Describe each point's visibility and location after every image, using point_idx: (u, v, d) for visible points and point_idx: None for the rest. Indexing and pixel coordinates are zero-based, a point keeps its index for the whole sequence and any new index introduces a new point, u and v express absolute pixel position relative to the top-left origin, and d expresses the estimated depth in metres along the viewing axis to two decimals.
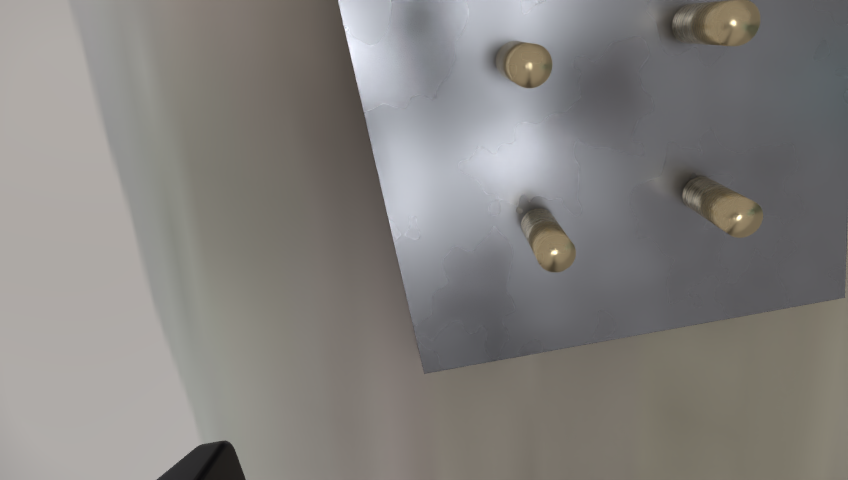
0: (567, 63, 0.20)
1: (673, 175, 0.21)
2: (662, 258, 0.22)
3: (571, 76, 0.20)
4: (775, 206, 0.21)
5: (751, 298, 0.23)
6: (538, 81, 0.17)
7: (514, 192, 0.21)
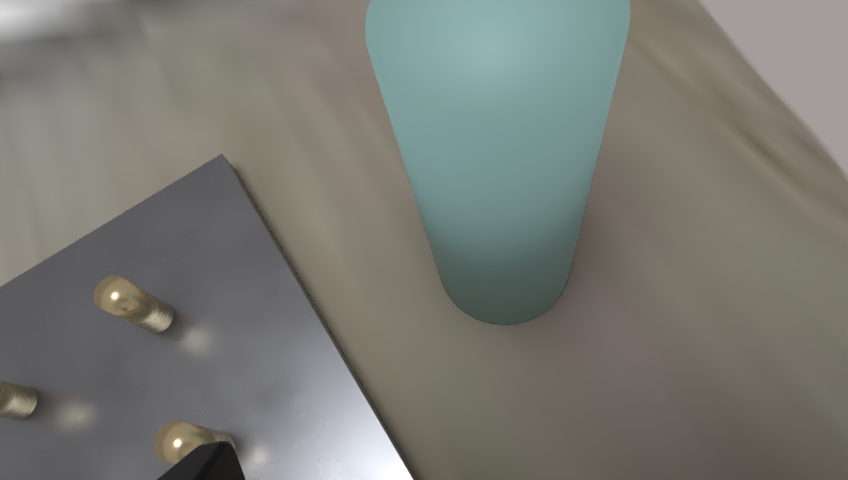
0: (66, 386, 0.22)
1: None
2: None
3: (71, 395, 0.22)
4: (297, 432, 0.21)
5: None
6: None
7: None
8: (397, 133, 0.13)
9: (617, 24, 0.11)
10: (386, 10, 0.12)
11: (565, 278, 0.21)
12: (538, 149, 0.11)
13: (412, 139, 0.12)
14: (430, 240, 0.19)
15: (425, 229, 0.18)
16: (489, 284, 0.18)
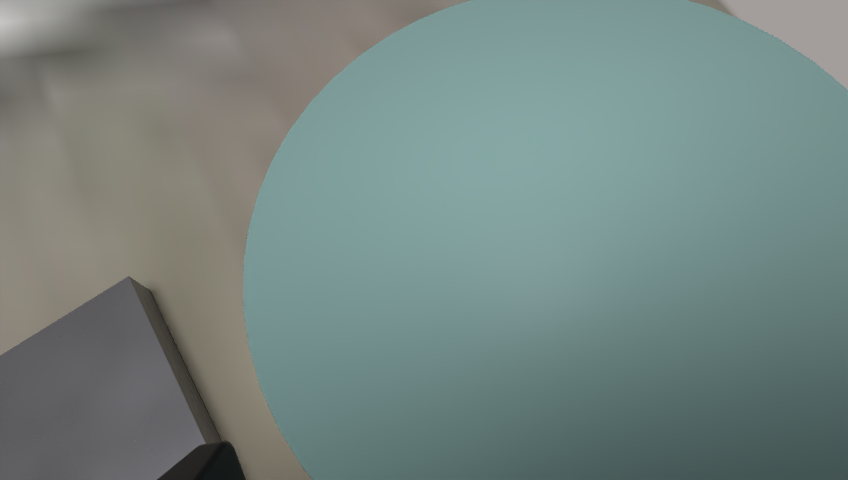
0: None
1: None
2: None
3: None
4: None
5: None
6: None
7: None
8: None
9: None
10: (299, 210, 0.05)
11: None
12: None
13: None
14: None
15: None
16: None
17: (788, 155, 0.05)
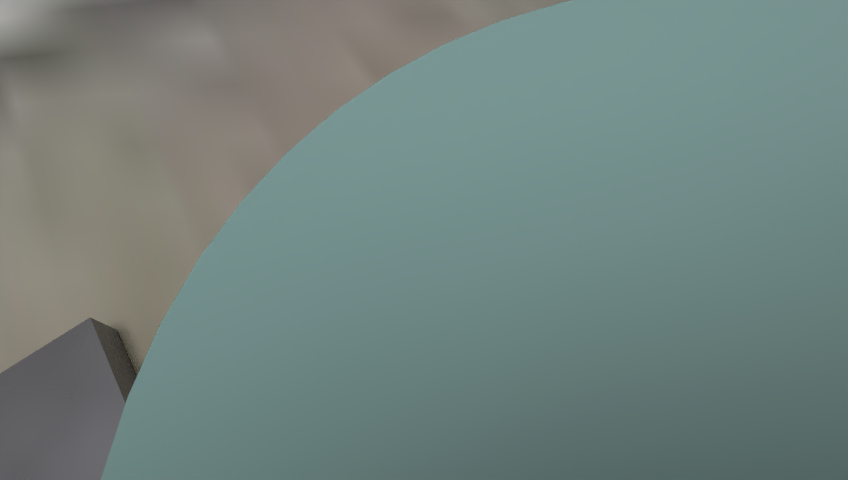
0: None
1: None
2: None
3: None
4: None
5: None
6: None
7: None
8: None
9: None
10: (202, 443, 0.02)
11: None
12: None
13: None
14: None
15: None
16: None
17: None
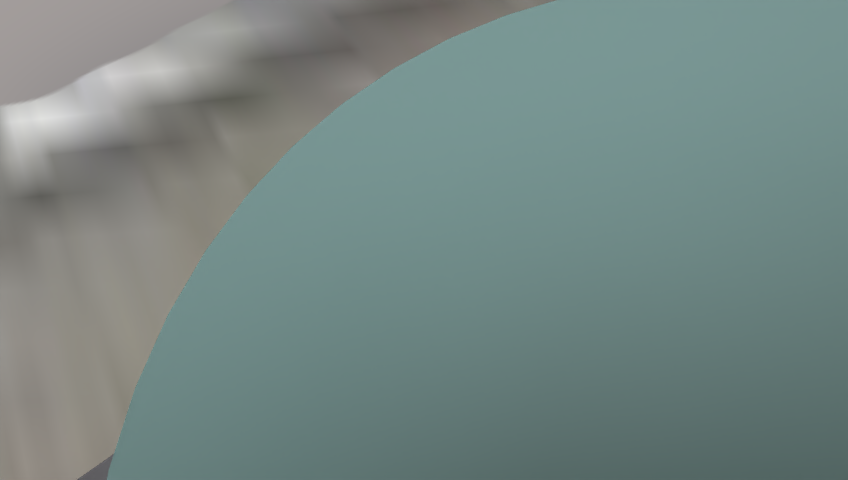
0: None
1: None
2: None
3: None
4: None
5: None
6: None
7: None
8: None
9: None
10: (210, 433, 0.02)
11: None
12: None
13: None
14: None
15: None
16: None
17: None
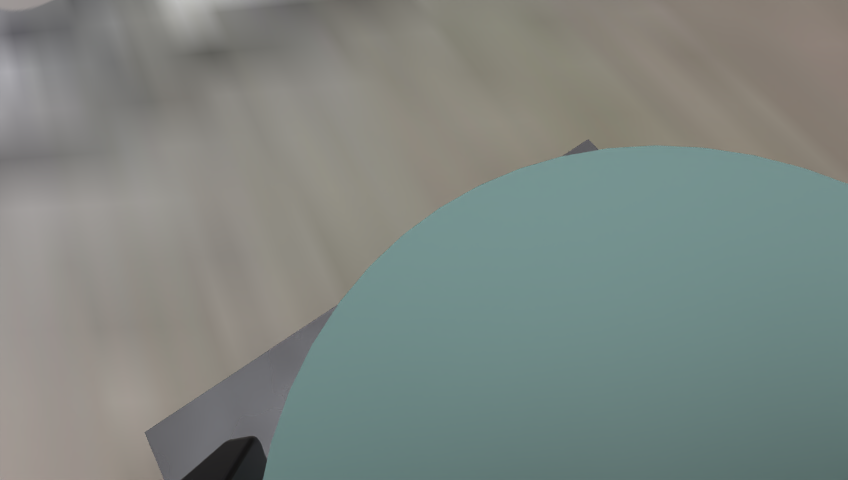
0: None
1: None
2: None
3: None
4: None
5: None
6: None
7: None
8: None
9: None
10: (325, 475, 0.04)
11: None
12: None
13: None
14: None
15: None
16: None
17: None
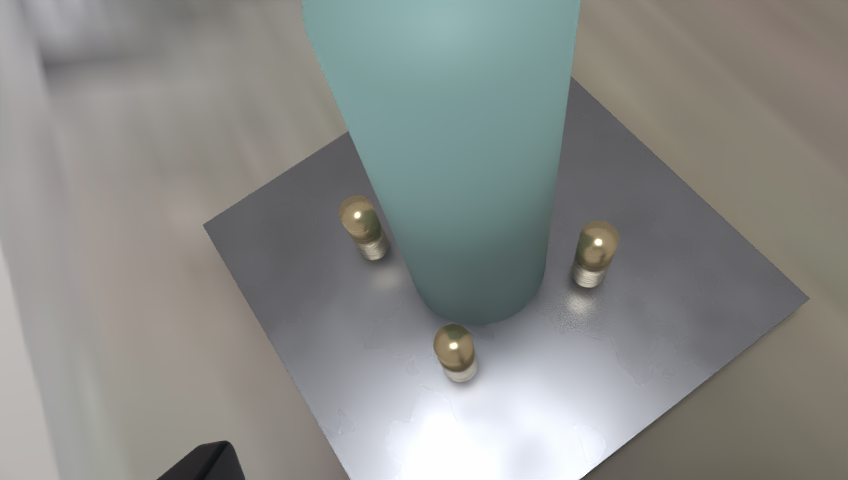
0: None
1: (554, 268, 0.22)
2: (598, 343, 0.21)
3: None
4: (664, 251, 0.22)
5: (718, 341, 0.20)
6: (366, 217, 0.20)
7: (424, 345, 0.21)
8: (345, 119, 0.12)
9: None
10: None
11: (539, 274, 0.20)
12: (490, 128, 0.11)
13: (358, 122, 0.12)
14: (395, 237, 0.18)
15: None
16: (458, 281, 0.18)
17: None
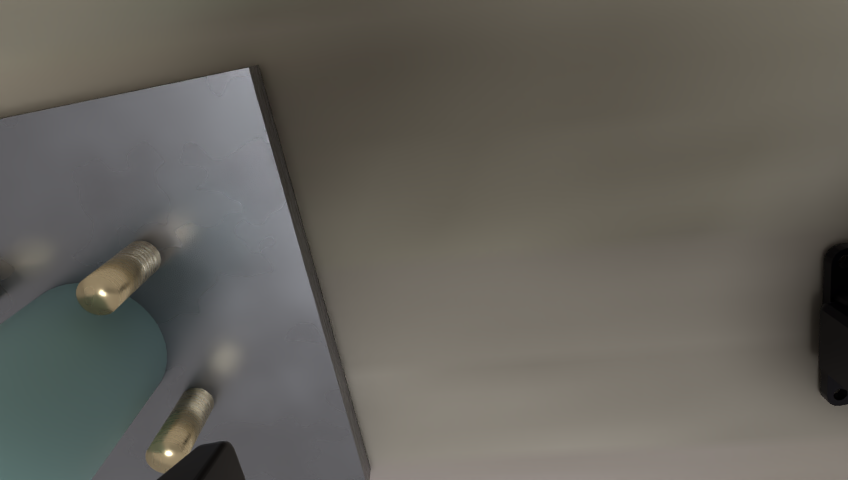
0: None
1: None
2: (219, 285, 0.20)
3: None
4: (145, 175, 0.19)
5: (258, 181, 0.19)
6: None
7: None
8: None
9: None
10: None
11: (126, 330, 0.19)
12: None
13: None
14: None
15: None
16: (99, 467, 0.17)
17: None
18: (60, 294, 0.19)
